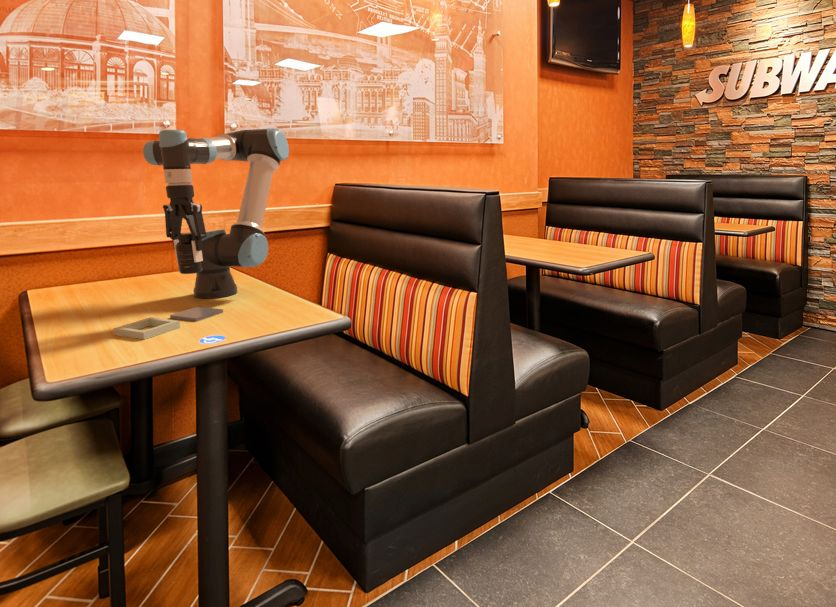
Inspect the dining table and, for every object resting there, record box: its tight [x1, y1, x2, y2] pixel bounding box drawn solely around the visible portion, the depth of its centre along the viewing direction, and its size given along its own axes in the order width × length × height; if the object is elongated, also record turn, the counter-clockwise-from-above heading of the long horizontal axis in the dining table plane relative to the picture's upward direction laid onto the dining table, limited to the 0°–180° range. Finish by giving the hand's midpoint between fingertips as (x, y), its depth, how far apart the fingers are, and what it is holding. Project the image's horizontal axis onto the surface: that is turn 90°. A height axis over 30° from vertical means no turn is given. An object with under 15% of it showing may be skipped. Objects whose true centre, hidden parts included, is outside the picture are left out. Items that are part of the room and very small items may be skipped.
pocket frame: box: [113, 316, 181, 340], centre depth 155 cm, size 12×12×2 cm
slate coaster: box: [169, 306, 224, 322], centre depth 171 cm, size 11×11×1 cm
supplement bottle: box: [175, 231, 203, 275], centre depth 166 cm, size 7×7×12 cm
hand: (189, 260), depth 167 cm, fingers closed on supplement bottle, 7 cm apart
